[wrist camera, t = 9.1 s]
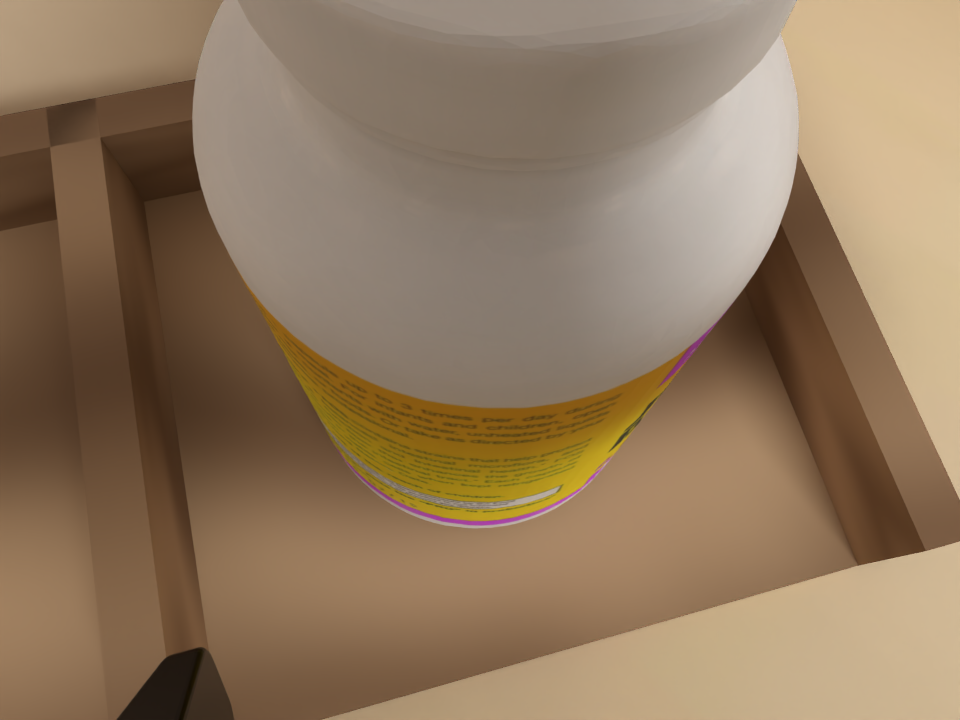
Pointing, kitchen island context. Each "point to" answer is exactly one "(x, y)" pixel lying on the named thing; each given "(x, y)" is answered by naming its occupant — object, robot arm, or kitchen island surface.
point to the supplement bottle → (493, 219)
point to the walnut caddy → (342, 495)
